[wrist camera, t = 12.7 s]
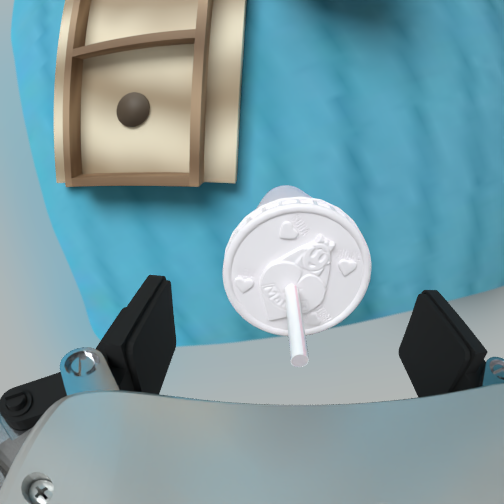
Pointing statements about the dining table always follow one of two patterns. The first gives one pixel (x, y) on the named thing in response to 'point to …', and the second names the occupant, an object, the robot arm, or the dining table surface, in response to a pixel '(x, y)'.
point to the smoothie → (296, 267)
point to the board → (148, 92)
